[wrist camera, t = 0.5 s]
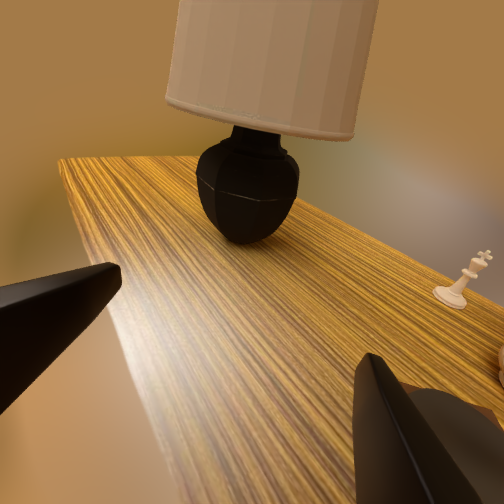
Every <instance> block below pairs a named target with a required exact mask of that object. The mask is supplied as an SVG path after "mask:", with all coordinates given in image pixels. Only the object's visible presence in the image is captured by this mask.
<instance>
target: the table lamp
mask: <svg viewBox="0 0 504 504" xmlns="http://www.w3.org/2000/svg"><path fill="white" fill-rule="evenodd" d="M378 3H379V0H180V4H179V11H178V18H177V25H176V33H175V40H174V47H173V55H172V62H171V70H170V76H169V81H168V88H167V94H166V95H165V100H166V102H167V104H168V105H169V106H171V107H173V108H176V109H178V110H181V111H184V112H187V113H190V114H193V115H197V116H200V117H204V118H208V119H212V120H215V121H219V122H223V123H228V124H233V125H234V127H233V131H232V134H231V137H229V138H226V139H224V140H222V141H221V142H220V143H219V144H216V145H214V146H212V147H210V148H208V149H207V150H206V151H205V152H204V153H203V154H202V155H201V156H200V158H199V161H198V165H197V169H196V176H197V185H198V192H199V197H200V200H201V203H202V206H203V209H204V211H205V213H206V215H207V217H208V218H209V220H210V221H211V222H212V223H213V224H214V226H215V227H216V228H217V229H218V230H219V231H220V232H221V233H222V234H223V235H224V236H225V237H226V238H227V239H228V240H230V241H234V242H237V243H241V244H245V243H250V242H255V241H259V240H261V239H264V238H266V237H268V236H269V235H271V234H272V233H274V232H275V231H276V230H277V229H278V227H279V226H280V225H281V224H282V222H283V221H284V220H285V218H286V216H287V215H288V213H289V211H290V209H291V207H292V204H293V202H294V200H295V199H296V196H297V189H298V181H299V167H298V164H297V163H296V161H295V160H294V159H293V158H292V157H291V156H290V155H287V150H285V149H283V148H282V147H281V145H280V137H281V134H282V135H288V136H295V137H302V138H308V139H316V140H325V141H336V142H337V141H349V140H350V139H352V138H353V137H354V133H353V132H354V127H355V121H356V115H357V110H358V104H359V99H360V94H361V89H362V84H363V80H364V75H365V69H366V64H367V60H368V55H369V49H370V44H371V39H372V34H373V28H374V23H375V18H376V13H377V8H378Z"/></svg>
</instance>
